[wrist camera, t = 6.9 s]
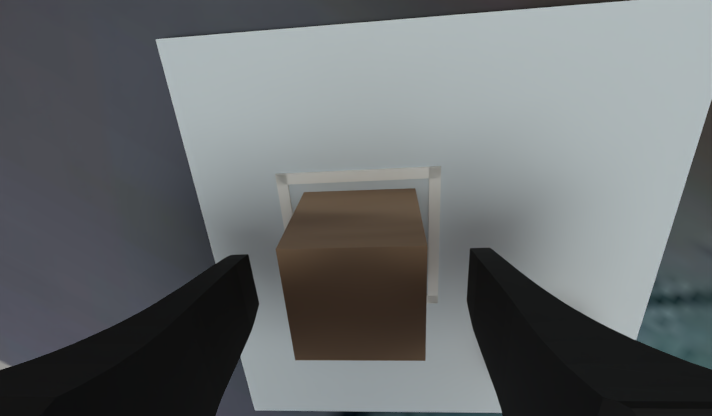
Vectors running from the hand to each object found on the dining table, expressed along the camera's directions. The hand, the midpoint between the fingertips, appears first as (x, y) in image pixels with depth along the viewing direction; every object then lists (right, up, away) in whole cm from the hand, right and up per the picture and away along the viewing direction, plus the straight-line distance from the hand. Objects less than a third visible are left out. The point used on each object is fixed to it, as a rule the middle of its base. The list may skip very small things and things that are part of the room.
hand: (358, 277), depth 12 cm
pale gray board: (+3, 0, +3) cm, 4 cm away
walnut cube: (0, +1, +2) cm, 2 cm away
